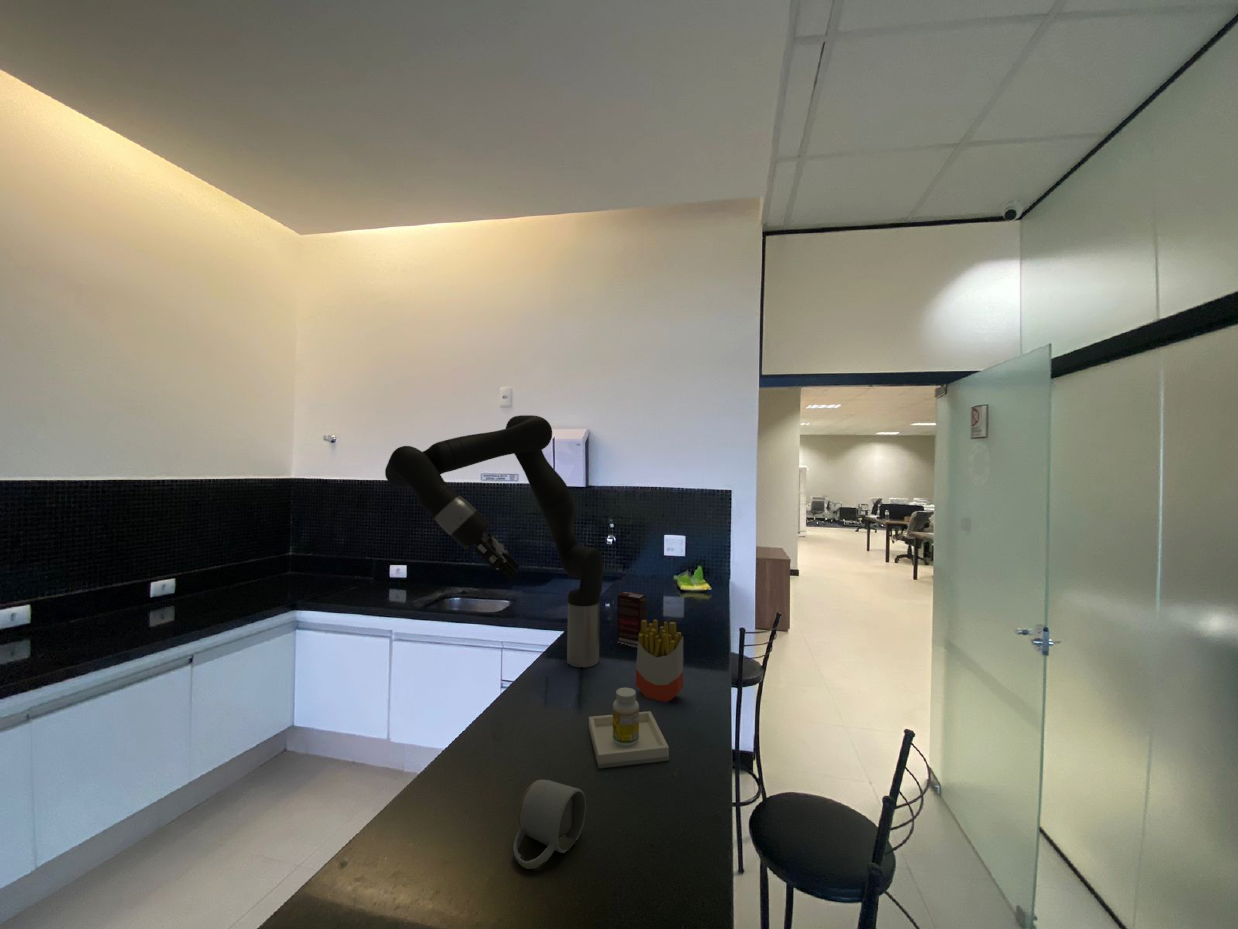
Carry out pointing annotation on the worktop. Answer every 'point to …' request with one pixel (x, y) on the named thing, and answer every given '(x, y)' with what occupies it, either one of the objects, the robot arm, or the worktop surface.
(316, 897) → the worktop surface
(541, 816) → the ceramic mug
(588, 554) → the robot arm
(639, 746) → the tray
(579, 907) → the worktop surface
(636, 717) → the supplement bottle
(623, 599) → the supplement box
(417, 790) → the worktop surface
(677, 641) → the french fries container
